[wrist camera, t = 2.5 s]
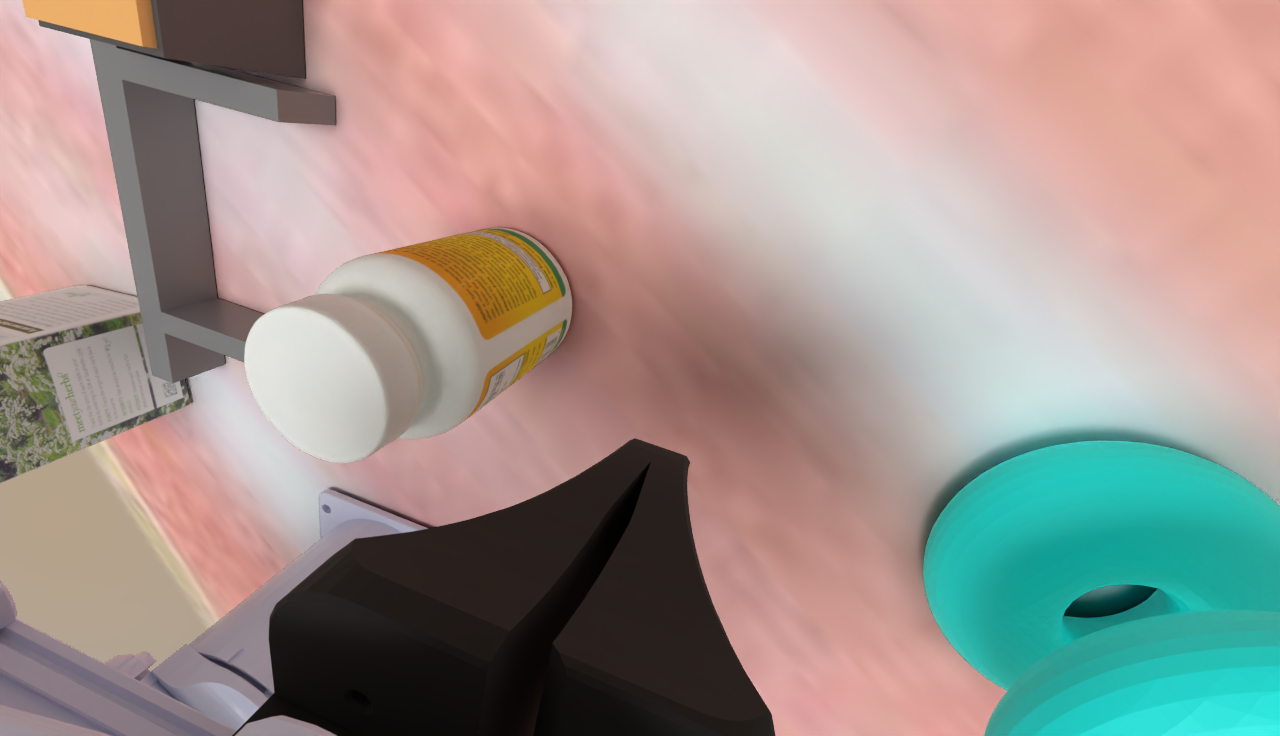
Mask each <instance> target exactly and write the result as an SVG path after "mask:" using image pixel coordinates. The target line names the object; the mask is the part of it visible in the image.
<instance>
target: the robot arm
mask: <svg viewBox="0 0 1280 736" xmlns="http://www.w3.org/2000/svg"><path fill="white" fill-rule="evenodd" d="M689 464H690V461H689V460H688V458H687V456H684V455H682V454H679V453H676V452H673V451H670V450H667V449H664V448H661V447H658V446H655V445H653V444H650V443H647V442H644V441H641V440H638V439H633V440H630V441H629V442H627V443H626V444H625V445H623V446H622V447H620V448H619V449H618V450H616V451H615V452H613V453H612V454H610V455H609V456H607V457H606V458H604V459H603V460H601V461H600V462H598V463H597V464H595V465H593V466H592V467H590V468H589V469H587V470H585V471H584V472H582V473H580V474H579V475H577V476H575V477H573V478H572V479H570V480H568V481H566V482H564V483H562V484H560V485H558V486H556V487H554V488H553V489H551V490H549V491H547V492H544V493H542V494H540V495H538V496H536V497H534V498H531V499H529V500H526V501H524V502H522V503H519V504H517V505H514V506H511V507H509V508H505V509H502V510H499V511H496V512H492V513H489V514H486V515H483V516H479V517H476V518H473V519H469V520H465V521H461V522H457V523H453V524H449V525H444V526H439V527H434V528H429V529H428V528H426V527H423V526H421V525H418V524H416V523H413V522H411V521H408V520H406V519H403V518H401V517H398V516H396V515H393V514H391V513H388V512H386V511H383V510H381V509H378V508H376V507H373V506H371V505H368V504H366V503H363V502H361V501H358V500H356V499H353V498H351V497H348V496H346V495H343V494H341V493H338V492H336V491H333V490H330V489H327V490H325V491H323V492H322V493H321V494H320V495H319V512H320V534H321V539H320V540H319V541H318V542H316V543H315V544H314V545H313V546H311V547H310V548H309V549H308V550H306V551H305V552H304V553H303V554H301V555H300V556H299V557H298V558H296V559H295V560H294V561H293V562H291V563H290V564H289V565H288V566H286V567H285V568H284V569H283V570H281V571H280V572H279V573H278V574H276V575H275V576H274V577H273V578H271V579H270V580H269V581H268V582H266V583H265V584H264V585H263V586H261V587H260V588H259V589H258V590H256V591H255V592H254V593H253V594H251V595H250V596H249V597H248V598H246V599H245V600H244V601H243V602H241V603H240V604H239V605H238V606H236V607H235V608H234V609H233V610H231V611H230V612H229V613H228V614H226V615H225V616H224V617H223V618H221V619H220V620H219V621H218V622H216V623H215V624H214V625H212V626H211V627H210V628H209V629H207V630H206V631H205V632H204V633H202V634H201V635H200V636H199V637H197V638H196V639H195V640H194V641H192V642H191V643H190V644H189V645H184V646H183V647H181V648H180V649H179V650H178V651H176V652H175V653H174V654H173V655H171V656H170V657H169V658H168V659H166V660H165V661H164V662H163V663H161V664H160V665H159V666H158V667H156V668H155V669H154V670H153V671H151V672H150V671H149V670H148V668H149V667H150V666H151V665H153V664H154V663H155V662H156V660H155V659H154V658H153V657H152V656H151V655H150V654H149V653H147V652H141V653H139V654H137V655H136V656H135V655H133V654H129V655H118V656H116V657H114V658H112V659H110V660H109V661H107V662H106V663H103V662H101V661H98V660H97V659H95V658H93V657H91V656H89V655H87V654H85V653H83V652H81V651H79V650H77V649H75V648H73V647H71V646H69V645H67V644H65V643H63V642H61V641H59V640H57V639H55V638H53V637H51V636H50V635H48V634H46V633H44V632H41V631H40V630H38V629H36V628H34V627H32V626H30V625H28V624H25V623H24V622H22V621H20V620H18V619H16V616H17V610H16V607H15V603H14V600H13V598H12V596H11V594H10V592H9V591H8V589H7V588H6V586H4V584H2V582H1V581H0V736H775V731H774V725H773V720H772V714H771V713H770V711H769V709H768V708H767V706H766V704H765V703H764V701H763V700H762V698H761V696H760V695H759V693H758V692H757V690H756V688H755V687H754V685H753V684H752V682H751V680H750V679H749V677H748V676H747V674H746V672H745V671H744V669H743V667H742V665H741V663H740V661H739V659H738V657H737V655H736V653H735V652H734V650H733V648H732V646H731V644H730V642H729V639H728V637H727V635H726V633H725V630H724V628H723V626H722V624H721V621H720V619H719V617H718V615H717V612H716V610H715V608H714V605H713V603H712V600H711V597H710V595H709V592H708V589H707V586H706V583H705V580H704V577H703V574H702V571H701V567H700V564H699V560H698V556H697V552H696V548H695V543H694V539H693V534H692V528H691V522H690V515H689V506H688V495H687V474H688V467H689Z"/></svg>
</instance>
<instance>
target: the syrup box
mask: <svg viewBox="0 0 1280 736" xmlns="http://www.w3.org/2000/svg"><path fill="white" fill-rule="evenodd" d="M189 404H190V399H189V395H188V391H187V387H186V383H185V379H183V380H181V381H178V382H175V383H171V382H168V381H166V380H163V379H160V378H158V377H155V376H153V375H152V372H151V366H150V361H149V356H148V350H147V345H146V339H145V334H144V329H143V323H142V318H141V312H140V307H139V302H138V297H135V296H131V295H127V294H123V293H119V292H114V291H110V290H106V289H102V288H98V287H93V286H89V285H86V286H85V285H78V286H72V287H67V288H62V289H57V290H52V291H47V292H42V293H38V294H33V295H29V296H25V297H20V298H15V299H10V300H5V301H0V483H2V482H5V481H7V480H10V479H12V478H15V477H17V476H20V475H22V474H24V473H26V472H29V471H31V470H33V469H36V468H38V467H41V466H44V465H46V464H48V463H51V462H53V461H55V460H58V459H60V458H62V457H65V456H67V455H70V454H72V453H74V452H77V451H79V450H82V449H84V448H86V447H89V446H91V445H94V444H96V443H99V442H101V441H103V440H106V439H108V438H110V437H113V436H115V435H117V434H120V433H122V432H125V431H127V430H129V429H132V428H134V427H136V426H139V425H141V424H144V423H146V422H148V421H151V420H153V419H156V418H158V417H161V416H164V415H166V414H168V413H171V412H173V411H175V410H178V409H180V408H182V407H185V406H187V405H189Z"/></svg>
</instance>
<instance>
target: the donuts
mask: <svg viewBox="0 0 1280 736" xmlns="http://www.w3.org/2000/svg"><path fill="white" fill-rule="evenodd" d="M923 580H924V587H925V592H926V596H927V600H928V603H929V606H930V609H931V612H932V614H933V616H934V618H935V620H936V622H937V624H938V626H939V627H940V629H941V631H942V632H943V634H944V635H945V637H946V638H947V640H948V641H949V643H950V644H951V645H952V646H953V648H954V649H955V650H956V651H957V652H958V653H959V654H960V655H961V656H962V657H963V658H964V659H965V660H966V661H967V662H968V663H969V664H970V665H971V666H972V667H973V668H975V669H976V670H977V671H978V672H979V673H981V674H982V675H983V676H985V677H986V678H987V679H989V680H990V681H992V682H994V683H995V684H997V685H998V686H1000V687H1002V688H1003V689H1005V690H1007V693H1006V694H1005V695H1004V697H1003V698H1002V699H1001V701H1000V702H999V703H998V705H997V707H996V708H995V710H994V712H993V713H992V715H991V718H990V720H989V722H988V725H987V728H986V731H985V735H984V736H1280V506H1279V505H1278V504H1277V503H1276V502H1275V501H1274V500H1273V499H1271V498H1270V497H1269V496H1268V495H1267V494H1266V493H1264V492H1263V491H1261V490H1260V489H1259V488H1257V487H1256V486H1255V485H1253V484H1252V483H1250V482H1249V481H1248V480H1246V479H1244V478H1243V477H1241V476H1240V475H1238V474H1236V473H1235V472H1233V471H1231V470H1229V469H1227V468H1225V467H1223V466H1221V465H1218V464H1216V463H1214V462H1212V461H1209V460H1206V459H1204V458H1201V457H1198V456H1195V455H1193V454H1190V453H1187V452H1183V451H1180V450H1177V449H1173V448H1169V447H1165V446H1160V445H1154V444H1148V443H1141V442H1131V441H1104V440H1100V441H1081V442H1073V443H1065V444H1059V445H1053V446H1049V447H1045V448H1041V449H1037V450H1034V451H1030V452H1027V453H1024V454H1021V455H1019V456H1016V457H1013V458H1011V459H1009V460H1006V461H1004V462H1002V463H1000V464H998V465H996V466H994V467H992V468H991V469H989V470H987V471H985V472H984V473H982V474H981V475H979V476H978V477H976V478H975V479H973V480H972V481H971V482H970V483H968V484H967V485H966V486H965V487H964V488H963V489H961V490H960V491H959V492H958V493H957V494H956V495H955V496H954V497H953V498H952V499H951V501H950V502H949V503H948V504H947V506H946V507H945V508H944V510H943V511H942V512H941V514H940V515H939V517H938V519H937V520H936V522H935V524H934V526H933V528H932V530H931V532H930V535H929V538H928V541H927V544H926V549H925V555H924V563H923ZM1122 584H1131V585H1143V586H1149V587H1153V588H1158V589H1157V590H1156V591H1155V592H1154V593H1153V594H1152V595H1151V596H1150V597H1149V598H1148V599H1147V600H1146V601H1144V602H1142V603H1141V604H1139V605H1137V606H1135V607H1133V608H1131V609H1129V610H1127V611H1124V612H1121V613H1118V614H1114V615H1109V616H1103V617H1093V618H1080V617H1069V616H1064V613H1065V611H1066V609H1067V608H1068V607H1069V606H1070V604H1071V603H1072V602H1073V601H1075V600H1076V599H1077V598H1079V597H1080V596H1082V595H1083V594H1086V593H1088V592H1090V591H1092V590H1094V589H1098V588H1102V587H1106V586H1111V585H1122Z"/></svg>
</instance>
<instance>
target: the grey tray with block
mask: <svg viewBox="0 0 1280 736" xmlns="http://www.w3.org/2000/svg"><path fill="white" fill-rule="evenodd" d="M23 5H24V9H25V14H26V17H29V18H33V19H37V20H39V25H40V26H42V27H46V28H50V29H54V30H58V31H62V32H65V33H69V34H73V35H77V36H81V37H85V38H89V39H90V42H91V48H92V53H93V59H94V64H95V69H96V75H97V80H98V86H99V91H100V96H101V102H102V107H103V113H104V118H105V123H106V129H107V134H108V140H109V145H110V150H111V156H112V161H113V167H114V172H115V177H116V183H117V188H118V194H119V199H120V204H121V210H122V215H123V221H124V226H125V231H126V237H127V242H128V248H129V253H130V258H131V264H132V269H133V275H134V280H135V285H136V291H137V296H138V302H139V307H140V312H141V318H142V323H143V329H144V334H145V339H146V345H147V350H148V356H149V361H150V366H151V372H152V375H153V376H155V377H158V378H160V379H163V380H166V381H168V382H171V383H175V382H178V381H181V380H183V379H186V378H189V377H192V376H194V375H197V374H200V373H202V372H205V371H208V370H211V369H213V368H216V367H219V366H222V365H224V364H225V357H224V355H226V356H228V357H231V358H234V359H237V360H239V361H242V362H244V353H245V344H246V340H247V337H248V334H249V332H250V330H251V328H252V326H253V325H254V323H255V322H256V321H257V320H258V319H259V318H260V317H261V316H263V315H264V314H263V313H260V312H257V311H254V310H251V309H248V308H245V307H243V306H240V305H237V304H234V303H231V302H228V301H225V300H222V299H219V298H217V290H216V282H215V274H214V266H213V257H212V249H211V241H210V232H209V224H208V216H207V207H206V199H205V191H204V183H203V174H202V166H201V158H200V149H199V141H198V133H197V124H196V116H195V108H194V100H193V99H196V100H199V101H203V102H207V103H210V104H214V105H218V106H222V107H225V108H229V109H233V110H236V111H240V112H244V113H247V114H251V115H255V116H258V117H262V118H266V119H269V120H273V121H277V122H287V123H305V124H323V125H336V119H335V96H332V95H328V94H324V93H320V92H316V91H312V90H308V89H304V88H300V87H297V86H293V85H289V84H285V83H281V82H277V81H273V80H269V79H265V78H262V77H258V76H254V75H250V74H246V73H242V72H238V71H234V70H230V69H226V68H223V67H229V68H236V69H243V70H250V71H257V72H263V73H270V74H277V75H284V76H291V77H298V78H305V58H304V34H303V10H302V0H23ZM219 66H222V67H219Z"/></svg>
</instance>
